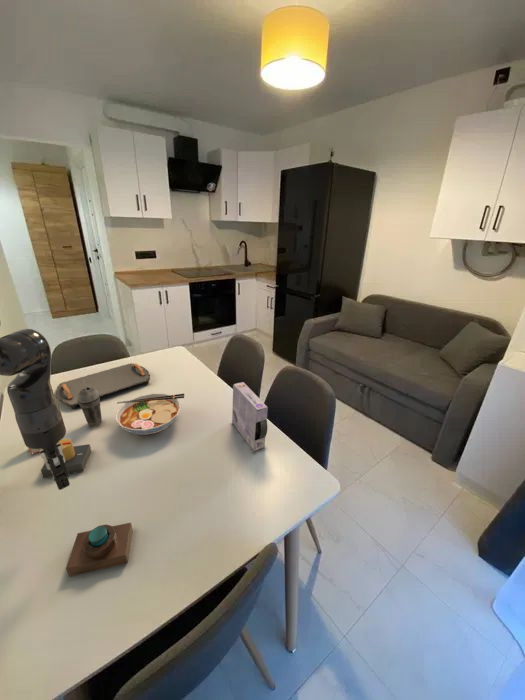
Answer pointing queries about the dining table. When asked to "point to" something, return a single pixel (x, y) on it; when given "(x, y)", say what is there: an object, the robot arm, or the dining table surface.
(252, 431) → the cake pan box
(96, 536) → the button
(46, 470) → the dial panel
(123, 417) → the ramen bowl
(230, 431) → the dining table surface
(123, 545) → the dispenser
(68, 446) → the dial
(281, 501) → the dining table surface
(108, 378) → the serving tray
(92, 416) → the beverage cup
